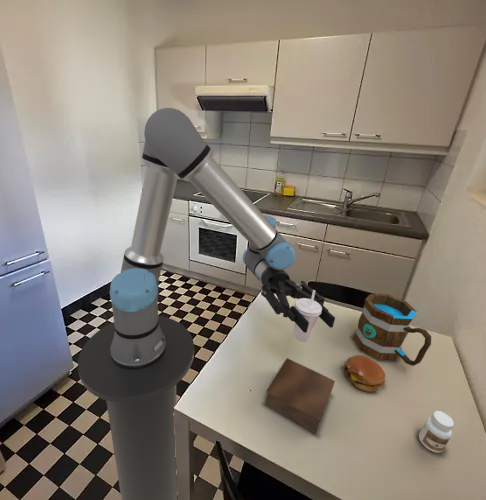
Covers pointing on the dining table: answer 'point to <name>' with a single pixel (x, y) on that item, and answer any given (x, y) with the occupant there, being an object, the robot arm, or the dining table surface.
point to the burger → (364, 373)
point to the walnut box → (300, 394)
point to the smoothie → (307, 316)
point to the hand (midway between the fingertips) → (319, 325)
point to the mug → (387, 328)
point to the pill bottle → (436, 431)
